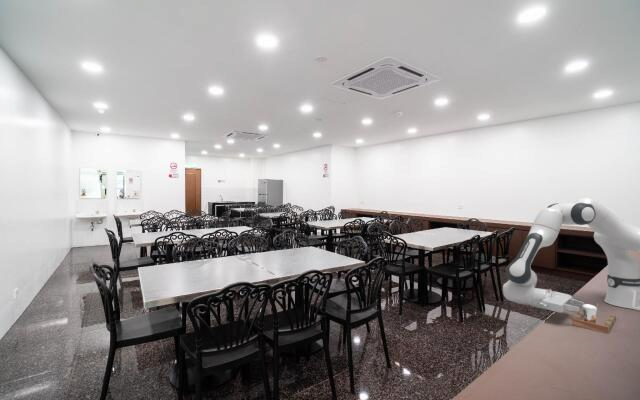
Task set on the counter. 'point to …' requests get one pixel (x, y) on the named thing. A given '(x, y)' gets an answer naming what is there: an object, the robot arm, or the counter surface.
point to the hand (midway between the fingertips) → (581, 306)
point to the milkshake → (589, 313)
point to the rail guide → (593, 326)
